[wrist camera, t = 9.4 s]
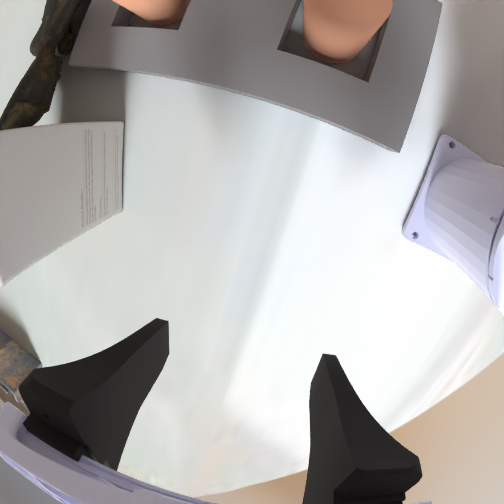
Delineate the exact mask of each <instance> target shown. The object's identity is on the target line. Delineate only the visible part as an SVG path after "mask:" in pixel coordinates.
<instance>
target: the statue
mask: <svg viewBox="0 0 504 504" xmlns="http://www.w3.org/2000/svg"><path fill="white" fill-rule="evenodd" d="M81 1H82V0H47V2H46V5H45V10H44V15H43V18H42V24H41V26H40V28H39V30H38V32H37V34H36V35H35V37H34V38H33V40H32V42H31V45H30V52H31V53H32V55H33V56H36V59H35V60H34V61H33V63H32V64H31V66H30V67H29V69H28V71H27V72H26V74H25V75H24V77H23V78H22V80H21V81H20V83H19V85H18V86H17V88H16V90H15V91H14V93H13V95H12V97H11V98H10V100H9V102H8V104H7V106H6V108H5V110H4V112H3V114H2V116H1V118H0V131H2V130H9V129H15V128H23V127H31V126H33V125H34V124H36V123H37V122H38V121H39V120H40V119H41V117H42V116H43V114H44V113H46V112H48V111H49V109H50V105H51V101H52V98H53V94H54V91H55V87H56V84H57V81H58V79H59V78H60V77H61V74H60V72H61V67H62V63H63V62H62V58H60V57H58V56H56V55H55V48H56V46H57V44H58V51H59V54H62V55H66V56H67V55H69V54H70V53H71V52H72V50H73V47H74V44H75V41H76V39H75V37H74V36H72V34H71V29H70V25H69V24H70V20H71V18H72V16H73V14H74V12H75V11H76V9H77V8H78V7H79V5H80V3H81Z"/></svg>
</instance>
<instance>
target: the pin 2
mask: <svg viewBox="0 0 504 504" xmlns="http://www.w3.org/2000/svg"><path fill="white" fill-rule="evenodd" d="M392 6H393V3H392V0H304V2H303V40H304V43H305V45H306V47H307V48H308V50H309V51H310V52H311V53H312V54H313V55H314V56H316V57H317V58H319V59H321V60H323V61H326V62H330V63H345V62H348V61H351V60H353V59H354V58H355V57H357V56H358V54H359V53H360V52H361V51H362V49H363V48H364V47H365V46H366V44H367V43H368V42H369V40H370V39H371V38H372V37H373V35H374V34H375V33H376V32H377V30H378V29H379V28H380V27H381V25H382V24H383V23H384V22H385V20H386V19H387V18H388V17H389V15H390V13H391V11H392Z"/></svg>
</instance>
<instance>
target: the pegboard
mask: <svg viewBox="0 0 504 504" xmlns="http://www.w3.org/2000/svg"><path fill="white" fill-rule="evenodd" d="M300 2H301V0H191V2H190V4H189V6H188V8H187V11H186V13H185V15H184V18H183V20H182V22H181V25H180V27H179V30H172V29H161V28H147V27H127V26H128V23H129V21H130V18H131V16H132V14H133V12H132V11H130V10H128V9H126V8H125V7H123V6H121V5H119V4H118V3H116V2H114V1H112V0H92V1H91V3H90V5H89V8H88V10H87V12H86V15H85V17H84V20H83V22H82V25H81V27H80V30H79V33H78V35H77V38H76V41H75V44H74V47H73V50H72V53H71V56H70V59H69V62H68V65H71V66H77V67H82V68H95V69H107V70H117V71H126V72H134V73H141V74H148V75H155V76H161V77H167V78H172V79H177V80H183V81H188V82H192V83H197V84H202V85H206V86H210V87H215V88H219V89H223V90H227V91H231V92H234V93H238V94H242V95H245V96H249V97H252V98H256V99H259V100H262V101H266V102H269V103H272V104H275V105H278V106H281V107H284V108H287V109H290V110H293V111H296V112H299V113H302V114H304V115H307V116H310V117H313V118H315V119H318V120H321V121H323V122H326V123H328V124H331V125H333V126H336V127H338V128H341V129H343V130H345V131H348V132H350V133H352V134H355V135H357V136H359V137H362V138H364V139H366V140H368V141H370V142H373V143H375V144H377V145H379V146H381V147H383V148H385V149H387V150H389V151H394V152H399V153H400V150H401V148H402V145H403V142H404V139H405V137H406V134H407V131H408V128H409V125H410V122H411V119H412V116H413V113H414V110H415V107H416V104H417V101H418V98H419V95H420V91H421V88H422V85H423V81H424V78H425V74H426V71H427V67H428V64H429V60H430V56H431V52H432V48H433V44H434V40H435V36H436V32H437V27H438V23H439V18H440V13H441V8H442V3H441V2H439V1H437V0H392V3H393V6H392V11H391V13H390V15H389V17H388V18H387V19H386V20H385V22H384V23H383V24H382V27H381V30H380V33H379V36H378V40H377V43H376V46H375V49H374V52H373V55H372V58H371V61H370V64H369V67H368V70H367V73H366V76H365V79H364V80H361V79H359V78H357V77H354V76H352V75H349V74H347V73H345V72H342V71H339V70H337V69H334V68H332V67H329V66H326V65H324V64H321V63H318V62H315V61H312V60H309V59H306V58H303V57H300V56H297V55H294V54H291V53H287V52H284V51H282V48H283V46H284V43H285V40H286V38H287V35H288V32H289V30H290V27H291V25H292V22H293V20H294V17H295V14H296V12H297V9H298V7H299V4H300Z"/></svg>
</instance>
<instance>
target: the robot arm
mask: <svg viewBox="0 0 504 504" xmlns="http://www.w3.org/2000/svg"><path fill="white" fill-rule="evenodd" d="M450 142H452V144H453V147H452V148H450V146H449V143H450ZM414 232H417V234H416V236H415V237H412V234H413V233H414ZM402 235H403V236H404V238H406V239H407V240H409V241H412V242H414V243H416V244H418V245H420V246H422V247H424V248H426V249H429V250H431V251H433V252H435V253H437V254H439V255H441V256H443V257H445V258H447V259H449V260H451V261H453V262H454V263H455V264H456V265H457V266H458V267H459V268H460V269H461V270H462V271H463V272H464V273H465V274H466V275H467V276H468V277H469V278H470V279H471V280H472V281H473V282H474V283H475V284H476V285H477V286H478V287H479V288H480V289H481V290H482V291H483V292H484V294H485V295H486V296H487V297H488V298H489V299H490V300H491V301H492V302H493V303H494V305H495V306H496V307H497V308H498V309H499V310H500V311H501V313H502V314H503V316H504V167H502V166H498V165H495V164H491V163H488V162H487V161H485V160H484V159H483V158H481V157H480V156H479V155H477V154H476V153H474V152H473V151H472V150H470V149H469V148H467V147H466V146H464V145H463V144H461V143H460V142H458V141H457V140H455V139H454V138H452V137H451V136H449V135H447V134H443V135H441V136H440V138H439V140H438V143H437V146H436V149H435V151H434V154H433V157H432V160H431V162H430V165H429V168H428V170H427V173H426V175H425V178H424V180H423V183H422V185H421V188H420V190H419V193H418V195H417V197H416V200H415V202H414V204H413V207H412V209H411V211H410V214H409V216H408V218H407V220H406V222H405V225H404V227H403V229H402ZM168 355H169V323H168V321H166V320H162V319H158V318H156V319H154V320H153V321H151V322H150V323H148V324H147V325H145V326H144V327H142V328H141V329H139V330H138V331H136V332H135V333H133V334H132V335H130V336H128V337H127V338H125V339H124V340H122V341H120V342H118V343H117V344H115V345H113V346H111V347H109V348H107V349H105V350H103V351H101V352H99V353H96V354H94V355H92V356H89V357H86V358H83V359H80V360H77V361H74V362H70V363H67V364H62V365H58V366H52V367H44V368H36V369H33V370H32V371H31V372H30V374H29V375H28V376H27V377H26V378H25V379H24V380H23V381H22V382H21V384H20V385H19V387H18V388H19V393H20V395H21V397H22V399H23V401H24V403H25V404H26V406H27V408H28V409H29V411H30V415H29V416H28V417H27V416H26V415H25V414H24V413H23V412H22V411H20V410H19V409H17V408H16V407H15V406H13V405H12V404H11V403H9V402H6V403H5V404H4V406H3V407H2V408H1V409H0V456H1V457H2V458H3V459H4V460H5V461H6V462H7V463H8V464H9V465H11V466H12V467H13V468H14V469H16V470H17V471H18V472H19V473H21V474H22V475H23V476H25V477H26V478H27V479H29V480H30V481H31V482H33V483H34V484H35V485H37V486H38V487H39V488H41V489H42V490H44V491H45V492H47V493H48V494H50V495H51V496H53V497H54V498H56V499H57V500H59V501H60V502H62V503H63V504H216V503H212V502H208V501H203V500H199V499H196V498H192V497H188V496H185V495H181V494H178V493H174V492H171V491H168V490H165V489H162V488H159V487H156V486H153V485H150V484H147V483H145V482H142V481H139V480H137V479H134V478H132V477H129V476H127V475H124V474H122V473H120V472H117V469H118V465H119V462H120V459H121V455H122V453H123V450H124V447H125V444H126V441H127V438H128V436H129V433H130V431H131V428H132V425H133V423H134V421H135V418H136V416H137V414H138V411H139V409H140V407H141V405H142V403H143V402H144V400H145V398H146V397H147V395H148V393H149V392H150V390H151V388H152V386H153V385H154V383H155V381H156V380H157V378H158V376H159V375H160V373H161V371H162V369H163V367H164V364H165V362H166V360H167V357H168ZM309 409H310V439H311V442H310V457H309V466H308V473H307V481H306V487H305V492H304V498H303V503H302V504H403V503H402V501H404V500H405V498H406V497H405V492H406V491H407V490H409V489H410V488H411V487H412V486H414V485H415V484H416V483H417V482H419V480H420V479H421V477H422V471H421V465H420V461H419V458H418V456H416V455H415V454H413V453H412V452H411V451H409V450H408V449H406V448H405V447H404V446H402V445H401V444H400V443H399V442H397V441H396V440H395V439H394V438H393V437H392V436H390V435H389V434H388V433H387V432H386V431H385V430H384V429H383V428H382V427H381V425H380V424H379V423H378V422H377V421H376V420H375V419H374V418H373V416H372V415H371V414H370V413H369V411H368V410H367V409H366V407H365V406H364V405H363V403H362V402H361V400H360V398H359V397H358V395H357V394H356V392H355V390H354V389H353V387H352V385H351V383H350V382H349V380H348V378H347V376H346V374H345V372H344V370H343V368H342V367H341V365H340V363H339V360H338V359H337V357H336V355H329V354H323V355H322V357H321V360H320V362H319V365H318V367H317V370H316V372H315V375H314V377H313V380H312V382H311V388H310V399H309ZM415 504H432V502H431V501H426V502H421V503H415Z"/></svg>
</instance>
